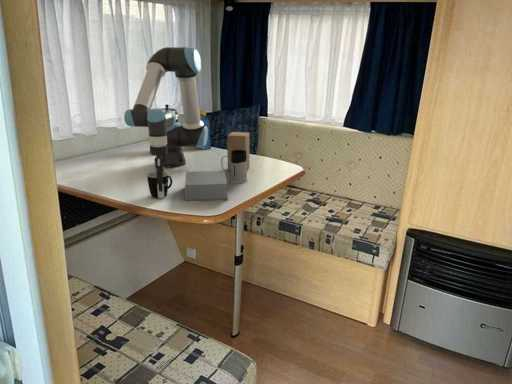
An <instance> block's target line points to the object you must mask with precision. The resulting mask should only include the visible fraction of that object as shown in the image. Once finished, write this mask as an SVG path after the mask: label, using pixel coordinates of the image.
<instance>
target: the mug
mask: <svg viewBox="0 0 512 384" xmlns="http://www.w3.org/2000/svg"><path fill="white" fill-rule="evenodd" d="M146 177H147V183H148V185H147V186H148V189H149V193H150V195H151V197H152V198H153V197H155V198H154V199H159V198H158V189H157V184H155V183H157V174H156V171H152V172H149V173H148V174H147V175H146ZM169 181H170V182H169ZM163 183H164V198H166V196H167V195H168V191H169V189H170V188H171V187H172V184H173V179H172V177H171V176H170V175H169V173H168V172H166V171H164V172H163Z"/></svg>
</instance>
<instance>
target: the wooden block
mask: <svg viewBox="0 0 512 384" xmlns="http://www.w3.org/2000/svg"><path fill="white" fill-rule="evenodd" d="M226 137H227V139H226V140H227V142H226V143H227V144H226V145H227V156H228V157H229V159H230V163H231V151H233V150H245V151H246V156H247V171H248V170H249V169H250V137H251V135H250V132H241V131H231V132H230V133H228V134H227V136H226ZM228 157H227V158H228ZM230 163H229V160H228V159H227V173H229V172H230V173H231V164H230Z"/></svg>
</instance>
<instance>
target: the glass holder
mask: <svg viewBox="0 0 512 384" xmlns="http://www.w3.org/2000/svg"><path fill="white" fill-rule="evenodd" d="M224 158H227V161H228V160H229V163H230V159H229V157H228V155H224V156H222V157H221V160H220V165H221V167H222V171H224V172H225V174H227V175H229V176H230V183H234V184H244V183H247V182H248V180H249V179H248V178H247V177H248V176H247V175H248V173H247V171H248V170H247V156H246V151H245V150H233V151H231V163H230V164H231V172H230V173H229V172H228V171H227V170H226V169H225V168H224V164H223V159H224Z"/></svg>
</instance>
